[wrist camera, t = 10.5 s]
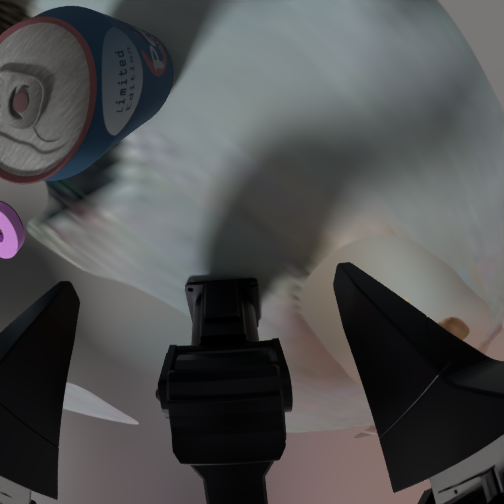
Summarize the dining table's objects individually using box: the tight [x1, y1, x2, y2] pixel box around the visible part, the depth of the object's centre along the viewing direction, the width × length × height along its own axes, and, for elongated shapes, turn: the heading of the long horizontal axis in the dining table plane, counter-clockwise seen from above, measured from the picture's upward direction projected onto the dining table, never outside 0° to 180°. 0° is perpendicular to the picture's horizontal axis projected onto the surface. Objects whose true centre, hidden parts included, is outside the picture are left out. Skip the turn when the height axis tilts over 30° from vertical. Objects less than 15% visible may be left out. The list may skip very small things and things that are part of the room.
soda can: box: [0, 6, 173, 184], centre depth 11 cm, size 7×7×12 cm
